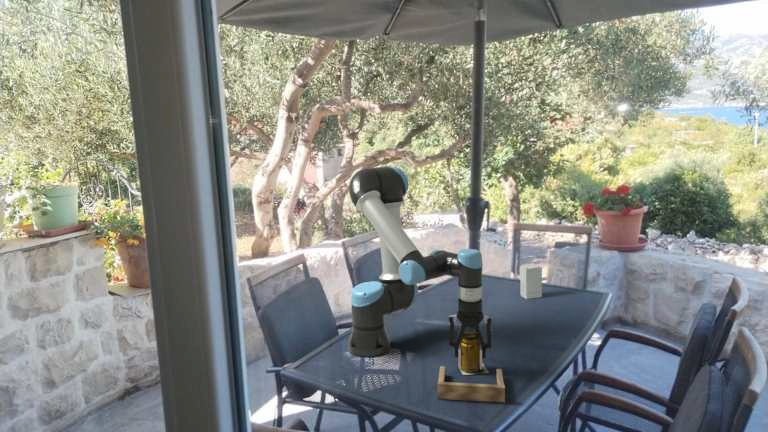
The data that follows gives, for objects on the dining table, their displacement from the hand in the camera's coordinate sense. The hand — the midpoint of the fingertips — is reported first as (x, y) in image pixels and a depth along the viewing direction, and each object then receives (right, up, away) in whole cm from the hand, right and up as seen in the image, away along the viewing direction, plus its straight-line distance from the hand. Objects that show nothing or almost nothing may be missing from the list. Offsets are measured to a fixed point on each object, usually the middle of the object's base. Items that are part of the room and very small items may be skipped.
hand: (470, 366), depth 161 cm
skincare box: (+40, +11, +69) cm, 81 cm away
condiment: (+1, -1, 0) cm, 1 cm away
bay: (-2, -3, -12) cm, 12 cm away
